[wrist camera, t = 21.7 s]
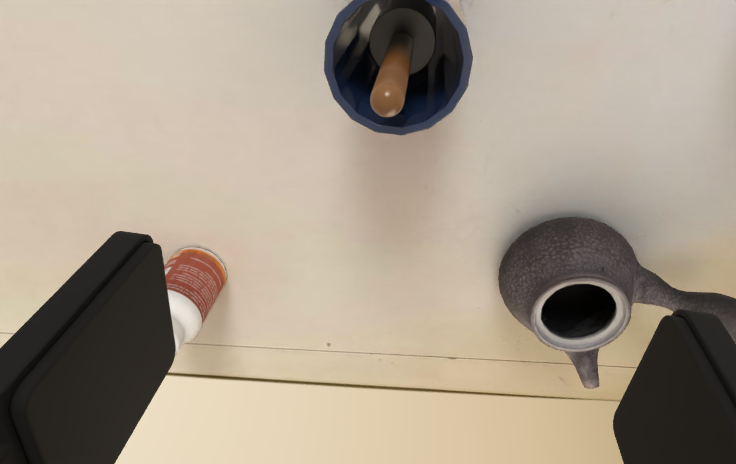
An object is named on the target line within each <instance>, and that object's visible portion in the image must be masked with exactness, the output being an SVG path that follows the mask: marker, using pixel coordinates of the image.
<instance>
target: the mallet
mask: <svg viewBox="0 0 736 464" xmlns="http://www.w3.org/2000/svg"><path fill="white" fill-rule="evenodd" d="M435 46H436V17H435V13H434V10H433V8H432V6H431V4H430V3H428V2H427V1H425V0H388V1H387V2H386V4H385V5H384V7H383V8H382V10H381V12H380V14H379V16H378V17H377V19H376V21H375V23H374V25H373V27H372V29H371V32H370V36H369V48H370V52H371V55H372V58H373V59H374V61H375V63H376V64H377V65H378V66H379V67H380V70H379V73H378V76H377V78H376V81H375V84H374V87H373V90H372V92H371V96H370V103H371V107H372V109H373V110H374V111H375V112H376V113H377V114H378V115H380V116H382V117H392V116H395V115H396V114H398V113H399V112H400V111H401V109H402V108H403V105H404V101H405V95H406V89H407V83H408V78H409V76H410V75H413V74H416V73H417V72H419V71H421V70H422V69H423V68H424V67H426V65H427V64H428V63H429V62H430V60H431V58H432V56H433V54H434V51H435Z"/></svg>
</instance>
